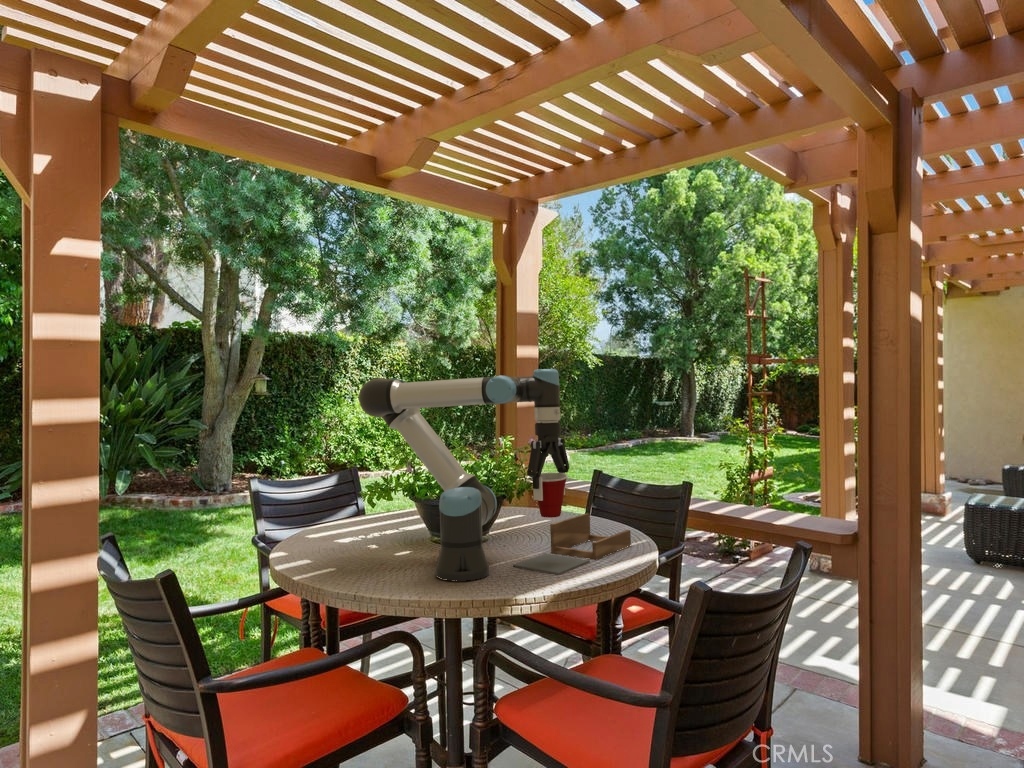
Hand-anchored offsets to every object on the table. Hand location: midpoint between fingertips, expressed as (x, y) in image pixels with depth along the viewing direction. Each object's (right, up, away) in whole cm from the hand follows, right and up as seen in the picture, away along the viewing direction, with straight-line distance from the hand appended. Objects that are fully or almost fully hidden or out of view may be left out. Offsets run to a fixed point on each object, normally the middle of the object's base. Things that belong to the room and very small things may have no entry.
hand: (549, 497), depth 191 cm
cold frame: (+14, -19, +17) cm, 29 cm away
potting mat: (+1, -20, 0) cm, 20 cm away
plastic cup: (0, -6, 0) cm, 6 cm away
